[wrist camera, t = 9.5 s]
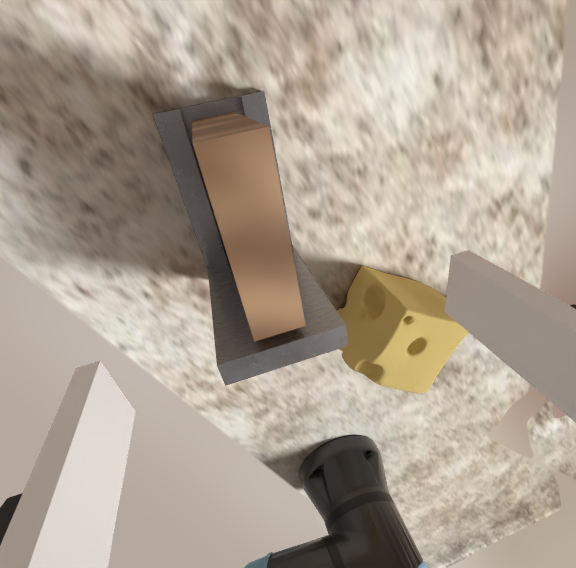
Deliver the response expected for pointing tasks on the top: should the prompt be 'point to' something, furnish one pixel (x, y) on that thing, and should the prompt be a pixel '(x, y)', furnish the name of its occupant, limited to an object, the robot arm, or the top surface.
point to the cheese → (397, 330)
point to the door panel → (251, 219)
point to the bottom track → (223, 289)
